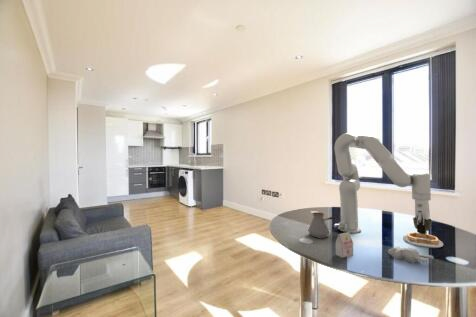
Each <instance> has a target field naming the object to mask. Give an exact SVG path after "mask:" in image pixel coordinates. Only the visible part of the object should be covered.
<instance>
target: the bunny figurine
mask: <svg viewBox="0 0 476 317" xmlns="http://www.w3.org/2000/svg"><path fill="white" fill-rule="evenodd" d="M387 252H388V254H390V256H391V257H392V258H395V259H399V260H403V261H404V262H407V263H412V264H414V263H416V262H421V263H424V264H426V263H428V259H430V260H434V259H435V258H434V256H433V255H432V254H421V253H420V252H419V251H418V249H416V248H412V247H400V246H395V247H393V248H390V249H387Z"/></svg>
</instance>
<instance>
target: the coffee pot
mask: <svg viewBox="0 0 476 317" xmlns="http://www.w3.org/2000/svg"><path fill="white" fill-rule="evenodd" d="M312 215H313V218H312V220H311V223H310V224H309V227H308V230H307V231H308V234H310V236H311V237H313V236H314V237H313V238H315V237H317V238H316V239H325V238H326V237H328V235H329V234H330V230H329V228H328V226H327V224H326V221H330V220H335V219H340V221H341V220H342V219H343V217H342V219H341V214H339V215H333V216H331V217H328V218H327V217H325V218H324V216H325V213H323V212H316V211H315V212H312Z"/></svg>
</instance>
